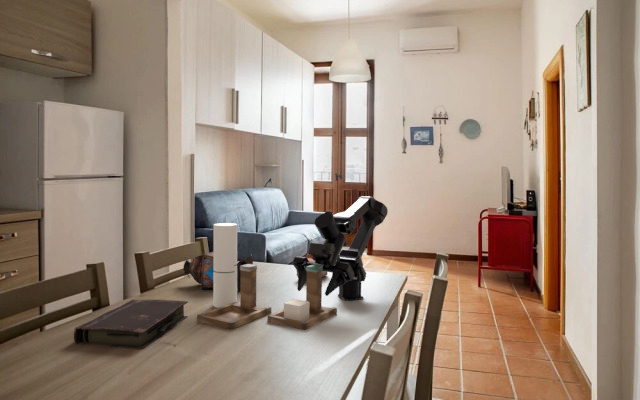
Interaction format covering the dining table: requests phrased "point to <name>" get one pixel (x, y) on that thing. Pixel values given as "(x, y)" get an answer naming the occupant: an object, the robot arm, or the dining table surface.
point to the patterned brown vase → (210, 269)
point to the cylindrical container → (225, 264)
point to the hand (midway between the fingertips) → (312, 292)
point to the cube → (296, 310)
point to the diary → (132, 324)
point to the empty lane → (238, 304)
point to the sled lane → (312, 296)
